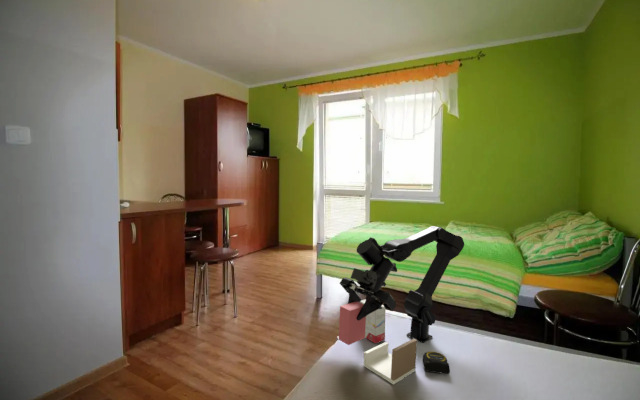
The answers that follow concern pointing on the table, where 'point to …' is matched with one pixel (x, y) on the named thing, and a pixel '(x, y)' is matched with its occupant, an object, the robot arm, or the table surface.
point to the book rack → (392, 360)
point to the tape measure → (435, 362)
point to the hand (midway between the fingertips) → (352, 317)
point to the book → (351, 323)
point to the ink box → (375, 325)
